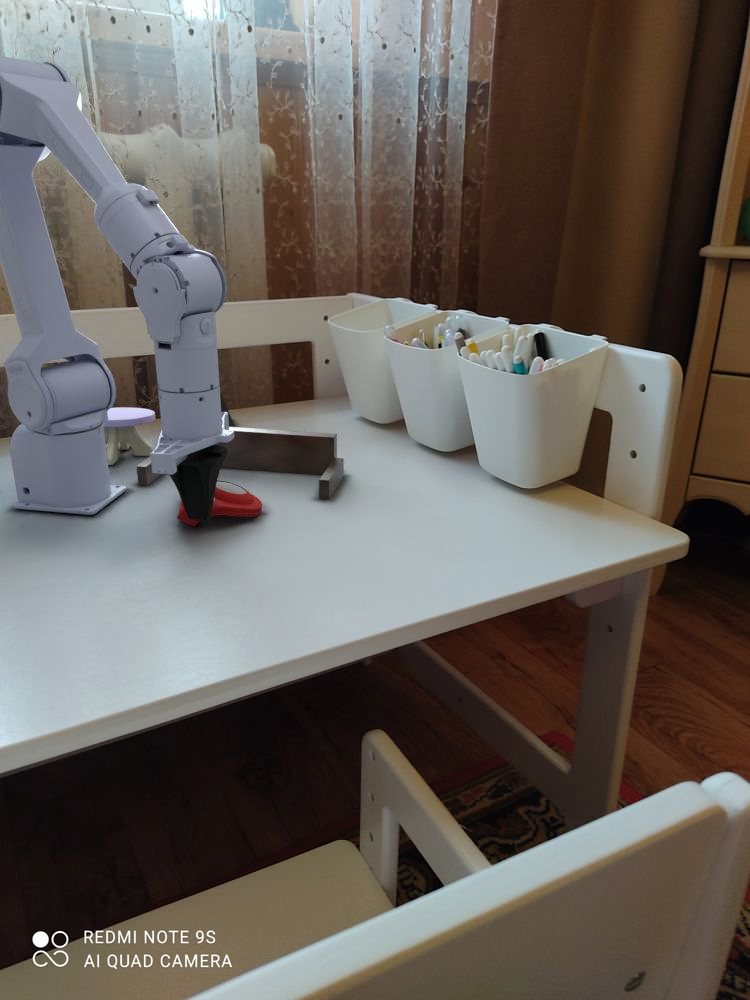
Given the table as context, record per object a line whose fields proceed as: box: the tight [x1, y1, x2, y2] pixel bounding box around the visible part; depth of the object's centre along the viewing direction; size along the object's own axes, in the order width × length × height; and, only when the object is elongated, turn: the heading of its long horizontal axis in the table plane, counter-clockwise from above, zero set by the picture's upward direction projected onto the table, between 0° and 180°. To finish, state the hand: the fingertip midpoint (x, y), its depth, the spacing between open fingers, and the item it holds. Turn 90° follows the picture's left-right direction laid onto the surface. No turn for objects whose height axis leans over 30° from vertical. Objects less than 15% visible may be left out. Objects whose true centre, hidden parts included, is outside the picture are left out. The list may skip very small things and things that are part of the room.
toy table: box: [103, 406, 156, 466], centre depth 101 cm, size 10×9×6 cm
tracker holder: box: [176, 479, 263, 527], centre depth 84 cm, size 12×4×10 cm
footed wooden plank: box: [136, 426, 345, 501], centre depth 94 cm, size 23×10×5 cm, turn 80°
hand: (199, 518), depth 78 cm, fingers closed
